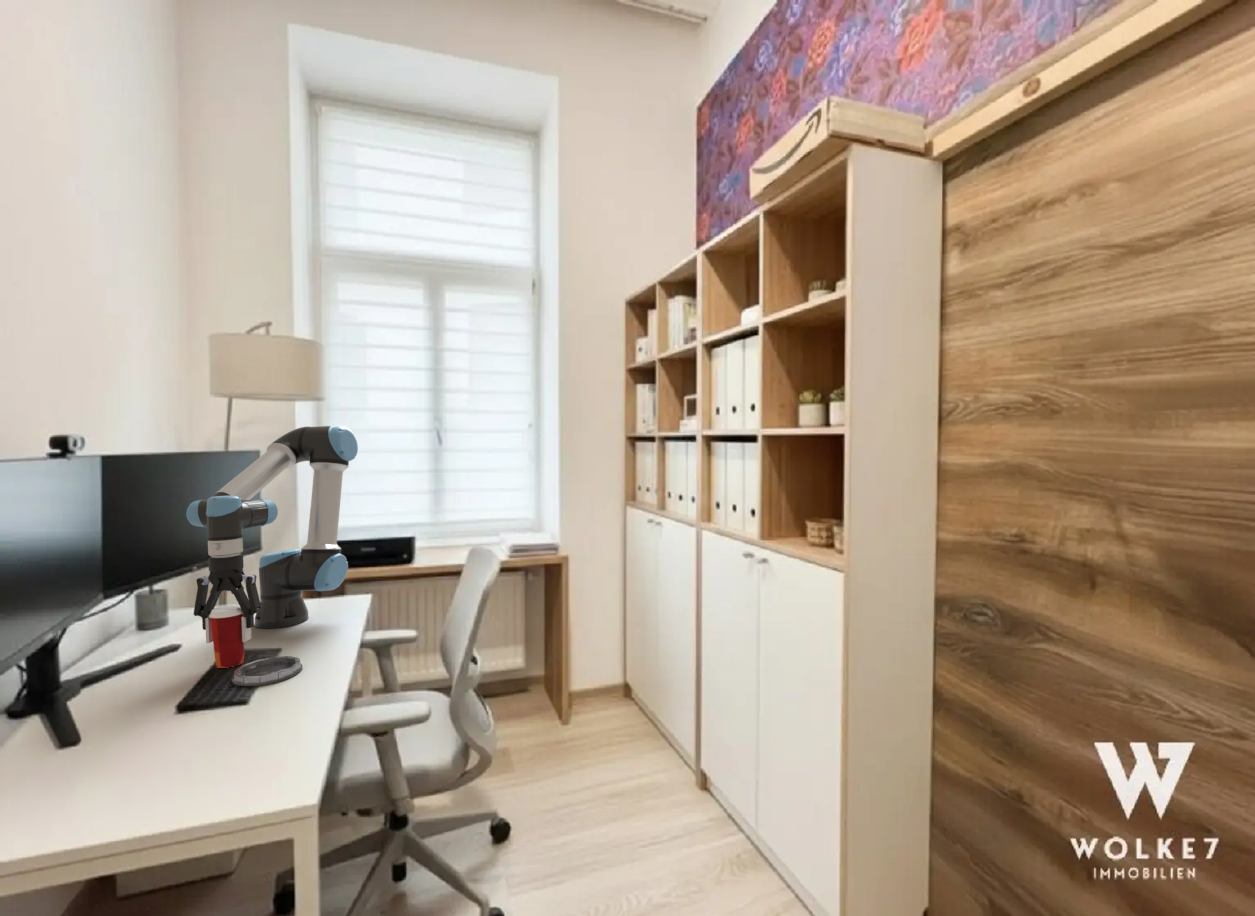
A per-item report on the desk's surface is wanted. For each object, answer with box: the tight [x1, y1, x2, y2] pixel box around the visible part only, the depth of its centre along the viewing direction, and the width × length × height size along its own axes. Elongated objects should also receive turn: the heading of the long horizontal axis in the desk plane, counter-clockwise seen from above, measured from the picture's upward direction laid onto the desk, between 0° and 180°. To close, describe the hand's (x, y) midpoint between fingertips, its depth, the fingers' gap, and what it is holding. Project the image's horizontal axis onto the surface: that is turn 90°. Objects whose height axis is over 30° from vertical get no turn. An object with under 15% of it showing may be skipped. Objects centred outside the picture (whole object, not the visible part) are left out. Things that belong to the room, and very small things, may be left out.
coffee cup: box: [209, 603, 246, 669], centre depth 152 cm, size 8×8×15 cm
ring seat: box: [231, 655, 303, 688], centre depth 145 cm, size 15×15×2 cm
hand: (228, 640), depth 152 cm, fingers closed on coffee cup, 8 cm apart
